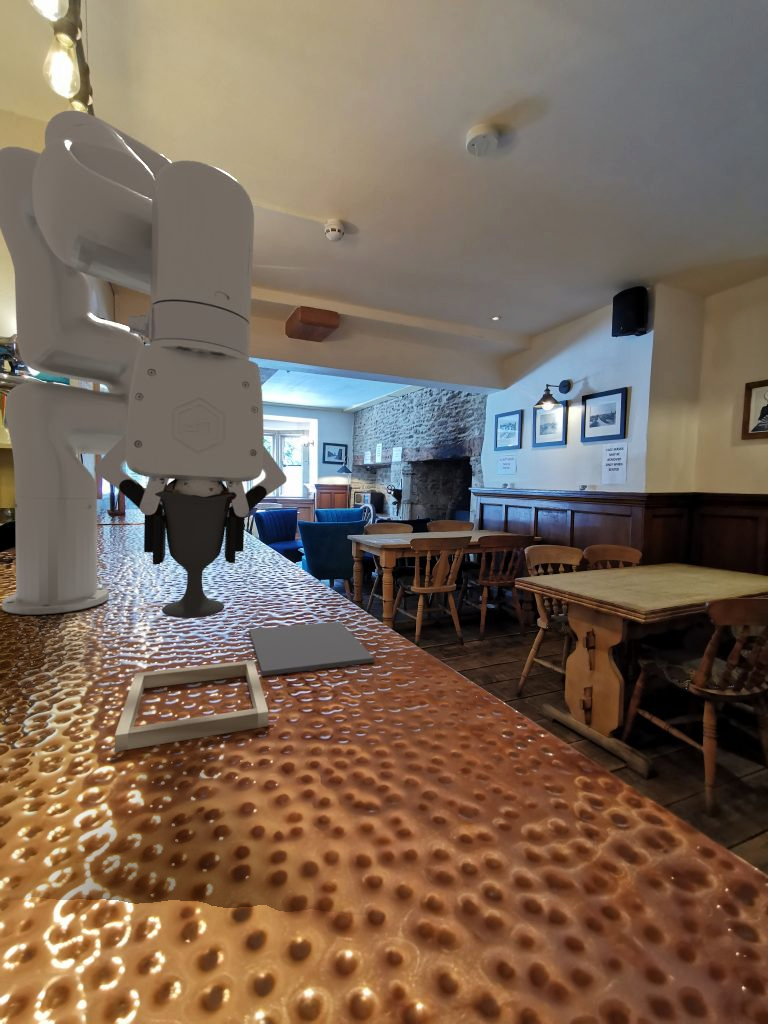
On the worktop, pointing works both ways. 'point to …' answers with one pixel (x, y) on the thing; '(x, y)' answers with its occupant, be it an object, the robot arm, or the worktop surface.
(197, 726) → the frame
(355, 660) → the bar mat
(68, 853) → the worktop surface
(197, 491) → the sundae
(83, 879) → the worktop surface
